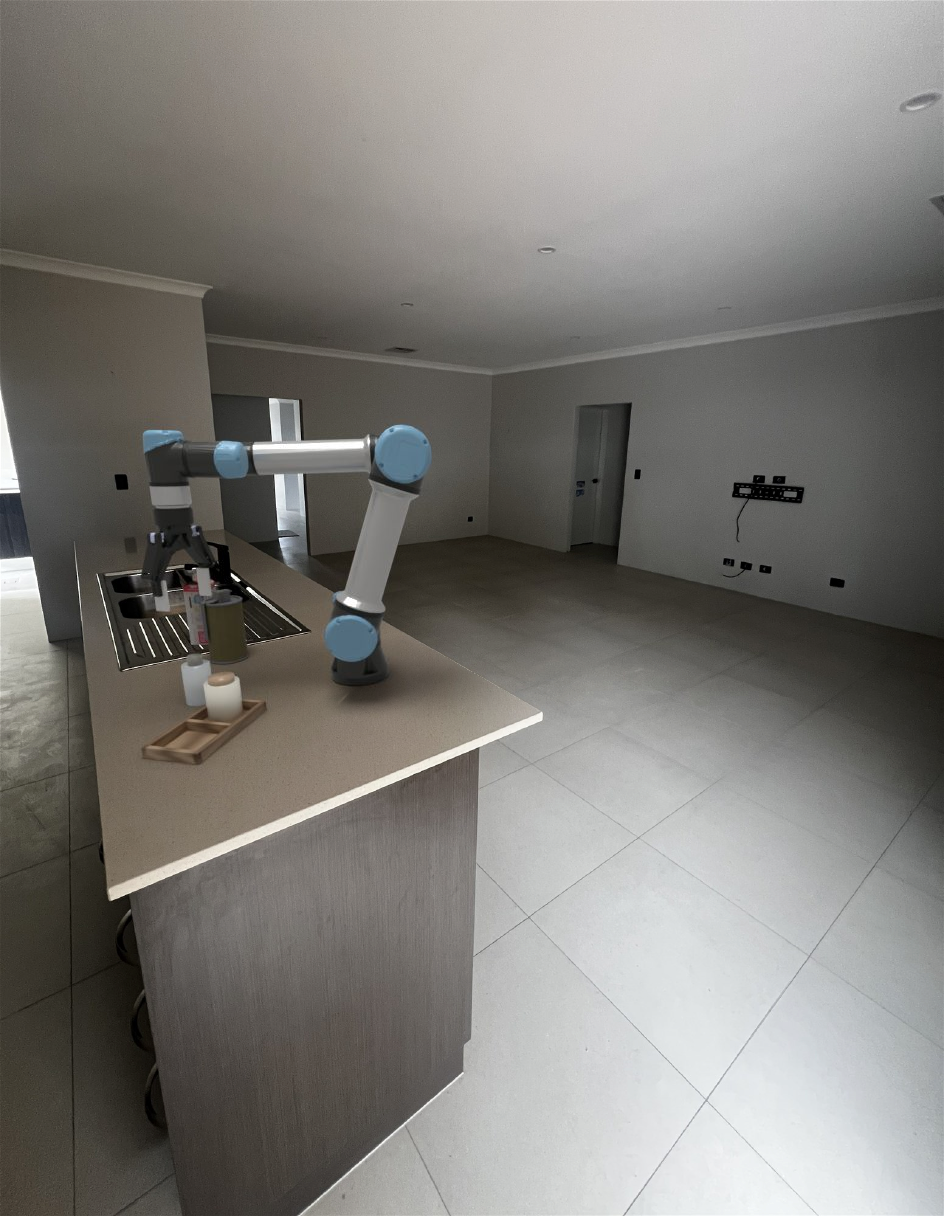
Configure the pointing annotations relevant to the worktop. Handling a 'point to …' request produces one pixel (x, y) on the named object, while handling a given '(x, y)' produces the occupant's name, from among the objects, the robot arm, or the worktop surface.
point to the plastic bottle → (195, 679)
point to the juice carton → (195, 610)
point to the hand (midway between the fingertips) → (185, 602)
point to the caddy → (199, 735)
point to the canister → (224, 627)
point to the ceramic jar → (223, 697)
